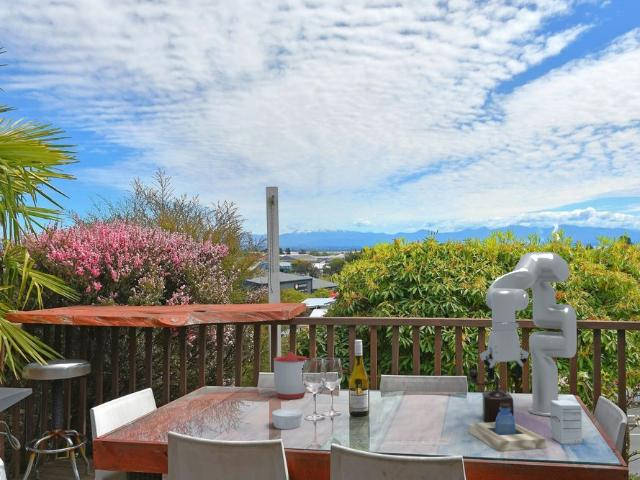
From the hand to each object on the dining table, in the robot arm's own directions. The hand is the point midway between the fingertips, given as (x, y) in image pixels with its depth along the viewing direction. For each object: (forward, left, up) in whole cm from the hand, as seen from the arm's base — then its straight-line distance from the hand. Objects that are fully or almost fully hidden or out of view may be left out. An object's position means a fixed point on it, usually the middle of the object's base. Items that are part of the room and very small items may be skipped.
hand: (504, 378), depth 205 cm
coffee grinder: (-7, -25, -21) cm, 33 cm away
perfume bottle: (0, 0, -21) cm, 21 cm away
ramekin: (+69, -32, -21) cm, 79 cm away
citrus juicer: (+60, -80, -21) cm, 102 cm away
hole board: (0, 0, -20) cm, 20 cm away
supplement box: (-19, +5, -21) cm, 28 cm away
